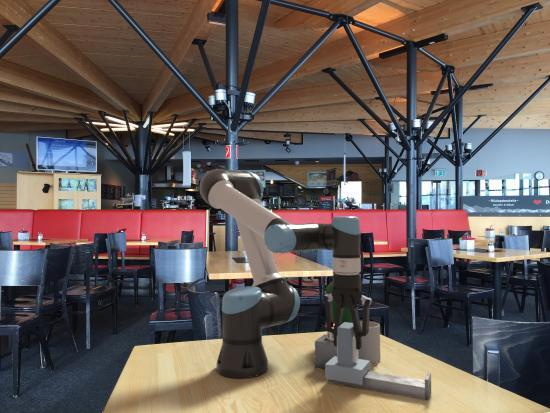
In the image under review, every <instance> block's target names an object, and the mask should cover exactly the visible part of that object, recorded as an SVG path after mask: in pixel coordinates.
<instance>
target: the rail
mask: <svg viewBox="0 0 550 413" xmlns="http://www.w3.org/2000/svg"><path fill="white" fill-rule="evenodd" d="M326 382H327V383H329V384H334V385H340V386H346V387H351V388H356V389H362V390H368V391H373V392H379V393H383V394H384V393H385V394H390V395H395V396H400V397H401V396H402V397H406V398H412V399H416V400H417V399H418V400H422V401H423V400H424V401H430V398H431V395H432V373H431V372H427V373H426V375H425V378H424V379H421V378H414V377H408V376H404V375H403V376H402V375H397V374H390V373H383V372H377V371H371V370H370V371H367V372H366V374H365V375H364V376H363V385H359V384H354V383H348V382H342V381H337V380H331V379H326Z"/></svg>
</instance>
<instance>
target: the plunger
mask: <svg viewBox="0 0 550 413" xmlns="http://www.w3.org/2000/svg"><path fill="white" fill-rule="evenodd" d="M324 326H325V329H327V326H326V323H325V325H324ZM326 334H327V341H334V335H333V333H331V332H328V331H327V330H326Z"/></svg>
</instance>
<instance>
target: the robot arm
mask: <svg viewBox="0 0 550 413" xmlns="http://www.w3.org/2000/svg"><path fill="white" fill-rule="evenodd" d="M263 184H264V183H263V181H262V179H261V178H260V177H259V176H258V175H257V174H256V173H254V172H251V171H249V170H248V171H247V170H233V169H224V168H215V169H212V170H209V171H207V172H206V173H205V174H204V175H203V177H202V178H201V179H200V182H199V194H200V195H201V198H202V199H203V200H204V202H205V203H207V204H208V205H209V206H210V207H212V208H214V209H217V210H218V209H219V210H220V209H221V211H224V213H226V214H228V215H229V216H231V217H232V218H233V219H235V223H236V225H237V229H238V231H239V235H240V239H241V242H242V245H243V249H244V252H245V255H246V256H245V257H246V260H247V262H248V266H249V269H250V272H251V276H252V279H253V282H252V285H251V286H250V285H249V286H248V285H246V286H238V287H235V288H232V289H230V290H228V291H226V292H225V293H224V294H223V297H222V305H221V311H222V312H221V314H222V316H221V317H222V318H221V319H222V320H221V321H222V325H221V327H222V329H221V330H222V342H221V343H222V344H221V348H220V350H219V354H218V357H217V360H216V372H217V373H218V374H219V375H220V376H221V375H222V376H223V377H227V378H233V379H246V378H247V379H248V378H253V377H257V376H260V375H263V374H265V373H266V372H267V371H268V369H269V361H268V357H267V354H266V351H265V348H264V345H263V331H262V330H264V329H267V328H270V327H275V326H279V325H284V324H286V323H288V322H291V321H293V320H294V319H295V318H296V317H297V315H298V313H299V310H300V306H301V299H300V296H299V293H298V291H297V289H296V288H294V287H293V286H292V285H291V284H288V283H287V279H286V276H283V275H282V274H280V273H279V269H278V266H277V263H276V260H275V257H274V253H276V254H288V253H293V252H305V251H315V250H317V251H319V250H323V251H332V272H333V271H334V272H335V273H334V274H333V273H332V282H333V291H332V293H331V294H329V295H328V294H327V295H326V294H324V295H323V296H322V301H323V303H324V308H325V309H324V310H325V324H326V326H327V328H326V332H327V331H328V332H331V333H333V335H334V346H336V347H337V360H338V338H337V327H338V326H340V325H341V323H342V317H343V311H344V308H345V307H347V308H349V309H350V312H351V316H352V322H353V327H354V332H355V336H354V337H353V338H352V341H353V362H354V363H356V362H357V361H358V350H360V349H361V347H362V336H366V335H367V334H368V333H369V321H370V311H371V310H370V308H371V307H370V306H371V304H372V302H373V299H372V298H371V297H367V296H365V295H364V294H363V292H362V276H361V274H360V273H361V272H362V265H361V262H362V261H361V235H362V233H361V232H362V231H361V222H360V218H359V217H357V216H355V215H354V216H353V215H352V216H350V215H349V216H333V217H332V220H331V223H324V222H323V223H318V222H307V223H306V222H305V223H290V222H289V221H287V220H285V219H283V218H282V217H280V216H279V215H278V214H275V213H274V212H273V211H271V210H270V209H268V208H266V207H264V206H263V205H262V199H263V196H264V194H263V192H264V185H263ZM333 298H334V300H335V301H336V303H337V308H336V310H337V311H336V317H335V323H334V322H333V307H332V301H333ZM360 301H361V304H362V305H363V306H362V320H360V315H359V311H358V310H359V306H358V304H359V302H360ZM360 321H362V330H361V325H360Z"/></svg>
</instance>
